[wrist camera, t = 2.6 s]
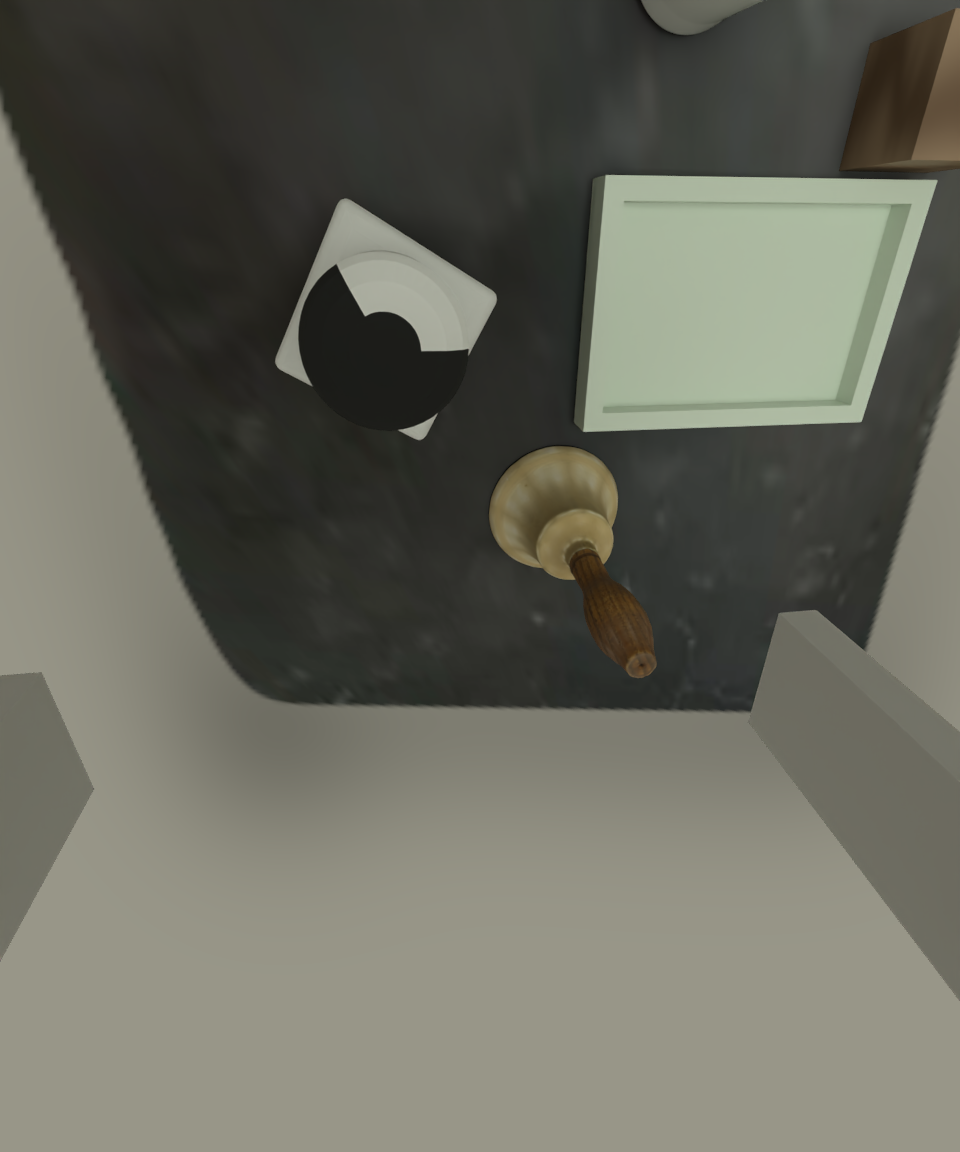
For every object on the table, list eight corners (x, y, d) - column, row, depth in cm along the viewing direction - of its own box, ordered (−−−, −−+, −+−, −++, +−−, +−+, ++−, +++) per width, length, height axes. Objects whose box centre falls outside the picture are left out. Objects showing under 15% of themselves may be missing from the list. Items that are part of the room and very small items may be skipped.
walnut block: (869, 44, 28) (955, 8, 24) (964, 48, 29) (1065, 14, 25) (837, 171, 31) (911, 159, 26) (925, 172, 31) (1011, 161, 27)
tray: (593, 178, 29) (605, 175, 28) (907, 183, 31) (937, 180, 30) (573, 422, 35) (583, 431, 33) (839, 413, 37) (861, 421, 35)
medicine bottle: (416, 407, 34) (428, 482, 23) (294, 342, 31) (246, 393, 21) (479, 285, 31) (524, 307, 21) (351, 203, 29) (329, 182, 18)
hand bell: (576, 582, 41) (672, 756, 27) (467, 541, 38) (511, 711, 24) (641, 475, 38) (787, 611, 24) (526, 423, 35) (615, 541, 21)
